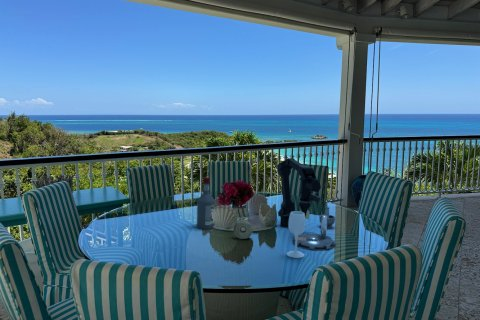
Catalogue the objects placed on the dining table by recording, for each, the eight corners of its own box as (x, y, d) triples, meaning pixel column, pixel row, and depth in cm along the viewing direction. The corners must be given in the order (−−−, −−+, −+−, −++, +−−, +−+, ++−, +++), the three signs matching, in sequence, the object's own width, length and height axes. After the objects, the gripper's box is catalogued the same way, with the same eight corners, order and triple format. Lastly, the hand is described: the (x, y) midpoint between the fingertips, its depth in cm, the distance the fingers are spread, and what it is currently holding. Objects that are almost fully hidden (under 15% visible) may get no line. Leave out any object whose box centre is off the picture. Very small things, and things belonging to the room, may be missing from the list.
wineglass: (284, 251, 188) (286, 210, 186) (302, 251, 189) (304, 210, 187) (288, 258, 179) (290, 215, 177) (306, 258, 180) (308, 215, 178)
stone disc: (233, 239, 206) (233, 221, 205) (233, 237, 209) (234, 219, 208) (252, 240, 205) (252, 222, 204) (252, 238, 209) (253, 220, 208)
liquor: (194, 227, 224) (195, 178, 221) (203, 224, 232) (204, 176, 229) (207, 230, 220) (209, 179, 217) (215, 226, 228) (217, 177, 225)
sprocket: (311, 252, 187) (312, 225, 185) (283, 239, 206) (284, 214, 205) (344, 245, 198) (345, 220, 197) (315, 233, 218) (316, 210, 217)
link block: (300, 218, 214) (300, 211, 213) (300, 216, 217) (300, 210, 217) (309, 218, 213) (309, 212, 212) (309, 217, 216) (309, 210, 216)
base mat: (311, 253, 187) (311, 252, 187) (283, 240, 206) (283, 239, 206) (343, 246, 199) (343, 246, 199) (315, 234, 218) (315, 234, 218)
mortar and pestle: (335, 230, 229) (336, 210, 228) (319, 228, 231) (320, 209, 229) (333, 225, 240) (334, 206, 239) (318, 224, 242) (319, 205, 240)
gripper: (320, 192, 203) (319, 221, 204) (320, 187, 221) (319, 213, 222) (299, 191, 205) (298, 219, 206) (300, 186, 223) (299, 212, 224)
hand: (304, 216), depth 215 cm, fingers closed on link block, 4 cm apart
